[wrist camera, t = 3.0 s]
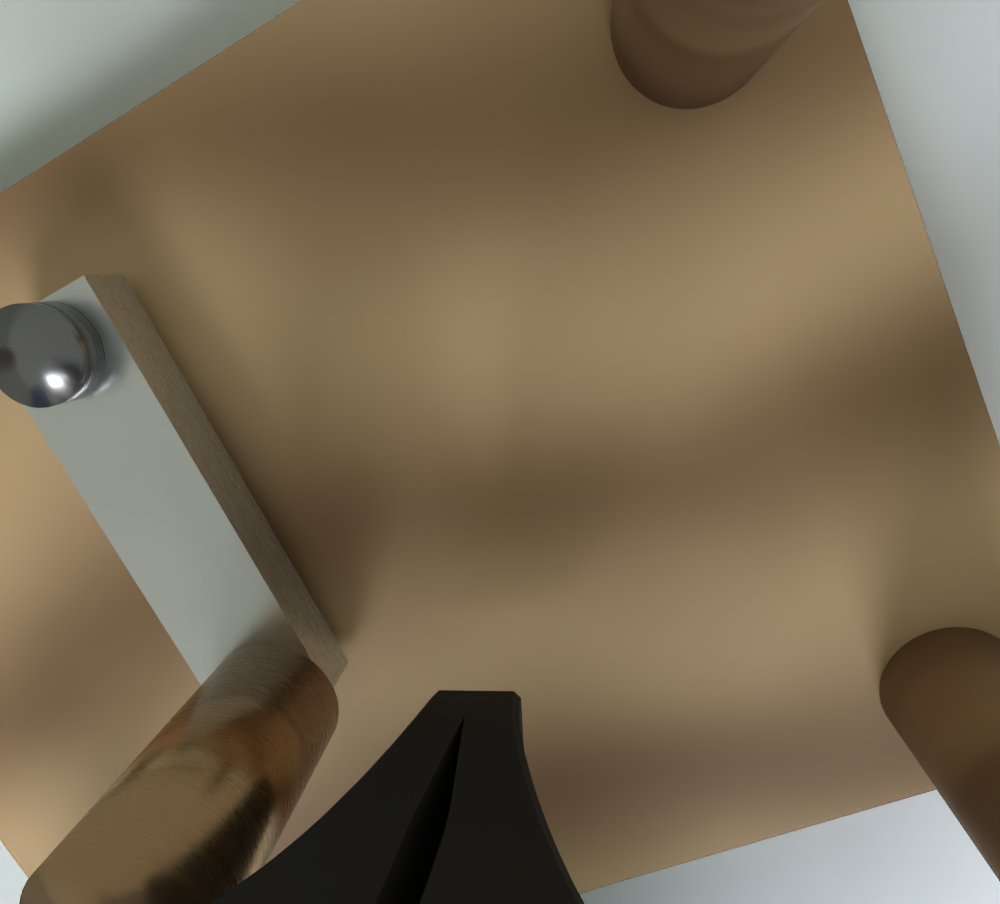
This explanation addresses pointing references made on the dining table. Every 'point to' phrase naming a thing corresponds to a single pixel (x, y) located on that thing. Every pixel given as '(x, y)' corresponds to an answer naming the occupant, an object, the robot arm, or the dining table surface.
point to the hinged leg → (175, 609)
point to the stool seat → (539, 416)
